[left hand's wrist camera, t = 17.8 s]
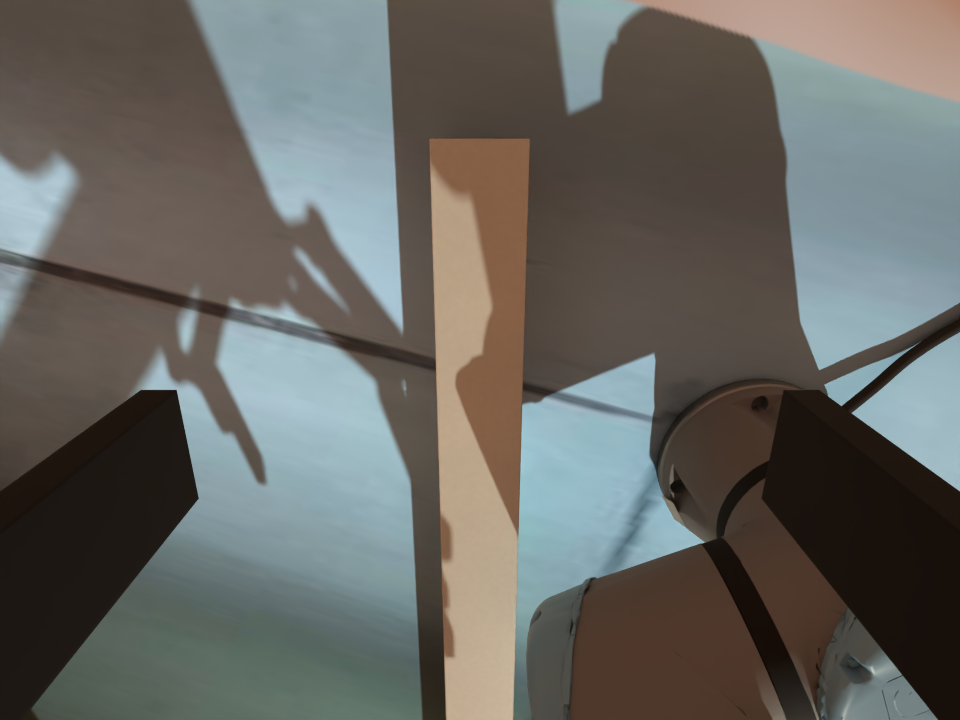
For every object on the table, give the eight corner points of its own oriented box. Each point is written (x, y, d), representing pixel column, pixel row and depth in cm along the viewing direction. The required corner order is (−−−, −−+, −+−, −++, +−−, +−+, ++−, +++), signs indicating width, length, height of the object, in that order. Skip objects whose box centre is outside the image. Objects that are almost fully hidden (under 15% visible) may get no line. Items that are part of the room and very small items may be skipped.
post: (439, 139, 41) (429, 138, 33) (520, 140, 40) (529, 138, 33) (455, 832, 67) (451, 923, 60) (504, 832, 67) (507, 923, 60)
